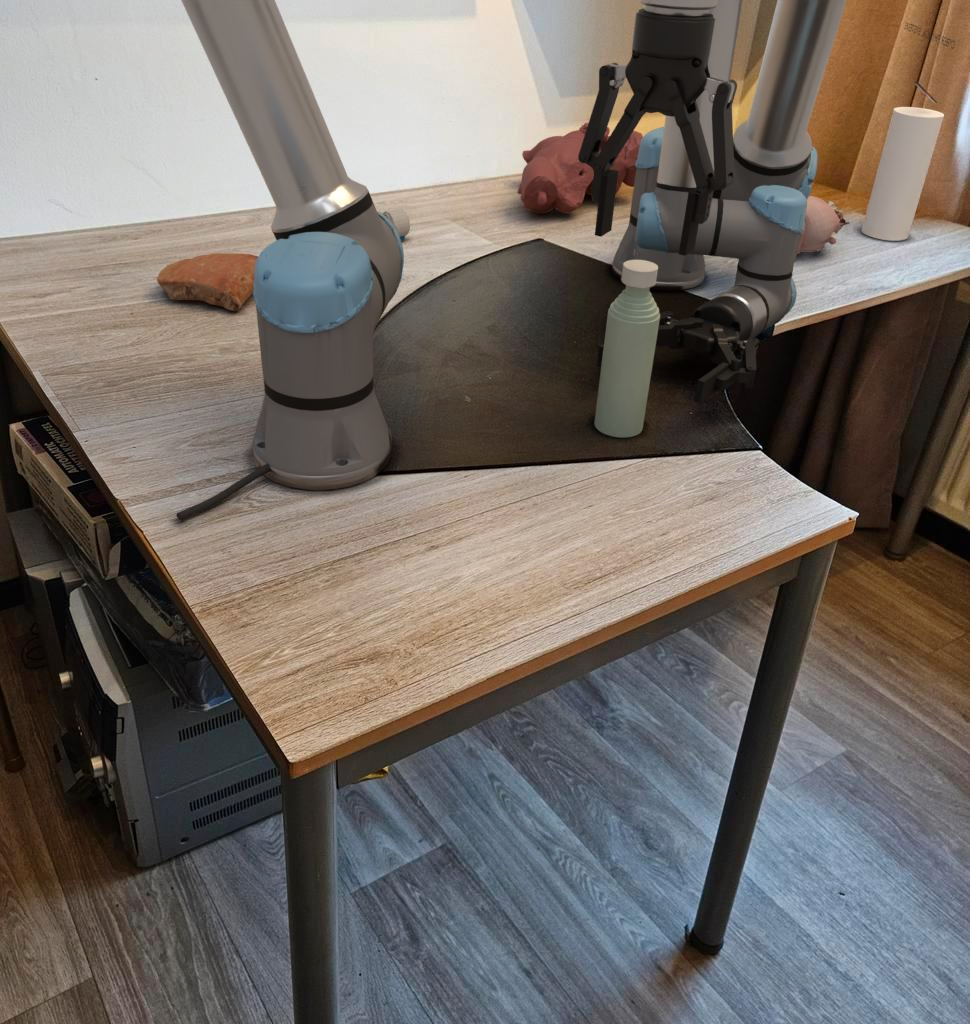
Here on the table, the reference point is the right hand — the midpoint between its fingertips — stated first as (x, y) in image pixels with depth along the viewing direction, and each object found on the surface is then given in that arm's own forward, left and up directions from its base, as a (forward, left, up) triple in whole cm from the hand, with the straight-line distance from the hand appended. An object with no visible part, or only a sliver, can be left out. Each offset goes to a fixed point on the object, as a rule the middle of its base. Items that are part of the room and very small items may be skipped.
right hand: (648, 373), depth 115 cm
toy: (-73, +21, -6) cm, 76 cm away
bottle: (+3, -3, -6) cm, 7 cm away
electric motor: (-52, -49, -6) cm, 72 cm away
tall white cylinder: (-89, +37, -6) cm, 97 cm away
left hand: (+3, -3, +17) cm, 17 cm away
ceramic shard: (-20, -67, -6) cm, 70 cm away
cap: (+3, -2, +14) cm, 14 cm away
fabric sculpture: (-86, -22, -6) cm, 89 cm away
